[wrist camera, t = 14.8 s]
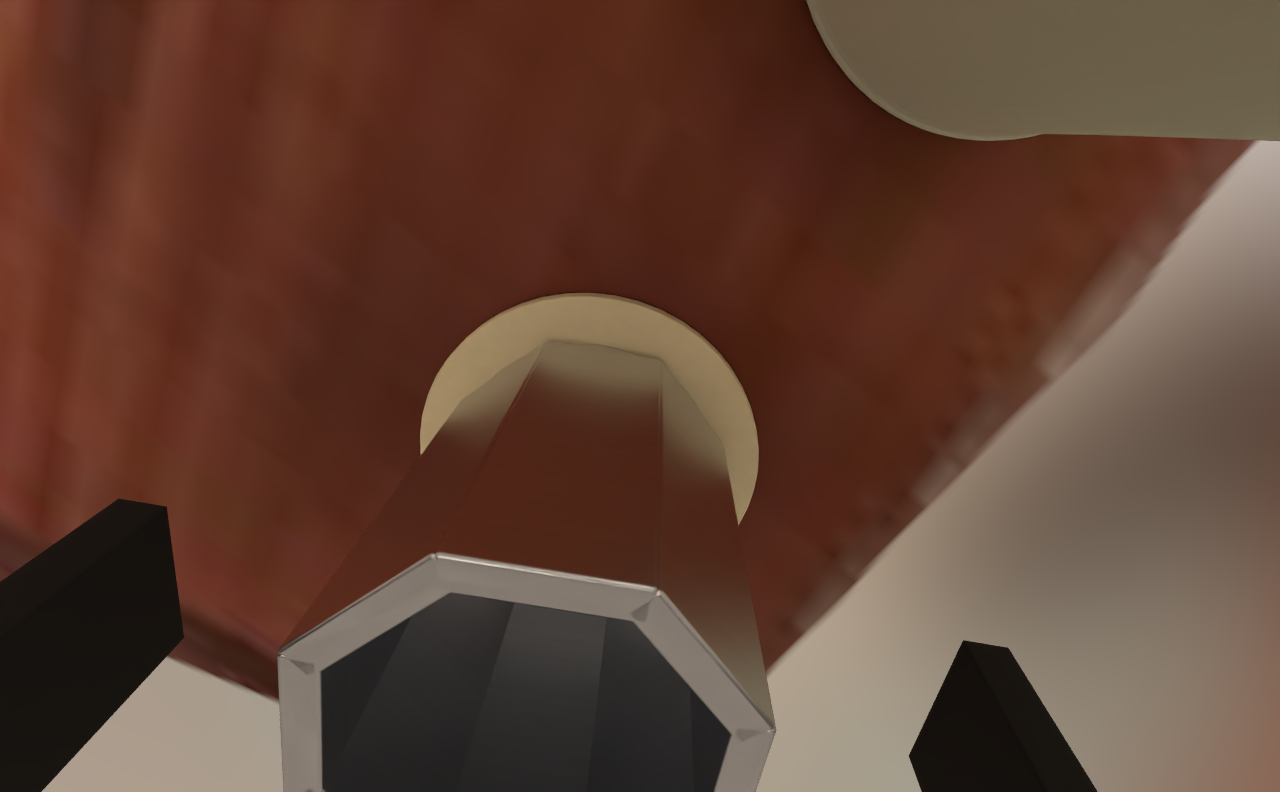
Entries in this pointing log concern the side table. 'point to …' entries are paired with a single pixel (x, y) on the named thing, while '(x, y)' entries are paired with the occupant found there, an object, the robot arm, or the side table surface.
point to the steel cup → (540, 604)
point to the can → (1064, 65)
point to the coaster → (616, 328)
